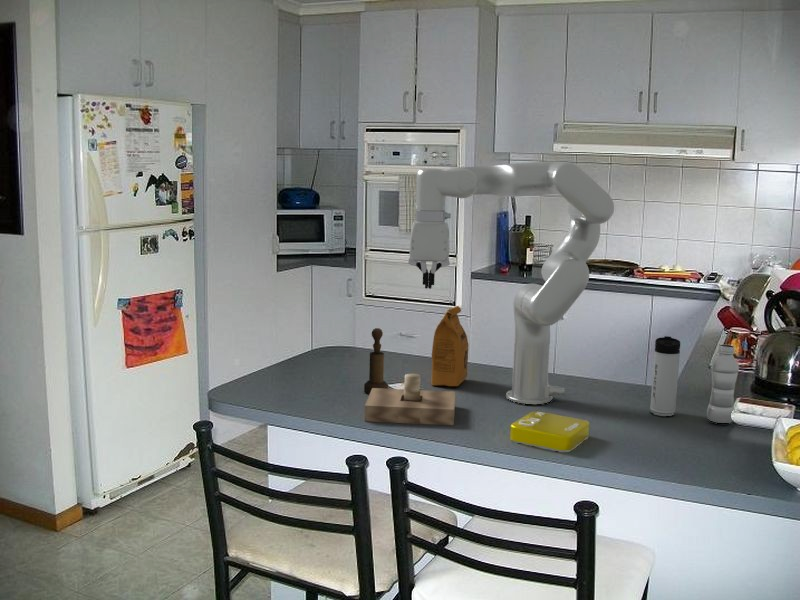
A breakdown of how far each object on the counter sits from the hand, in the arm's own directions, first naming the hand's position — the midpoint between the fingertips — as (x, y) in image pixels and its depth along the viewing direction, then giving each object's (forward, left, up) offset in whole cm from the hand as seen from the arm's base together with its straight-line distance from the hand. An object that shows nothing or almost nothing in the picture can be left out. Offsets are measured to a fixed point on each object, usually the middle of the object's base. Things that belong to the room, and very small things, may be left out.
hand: (428, 287), depth 227 cm
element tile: (-31, +25, -32) cm, 51 cm away
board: (+3, +10, -31) cm, 33 cm away
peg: (+3, +10, -31) cm, 33 cm away
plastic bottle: (-75, +6, -31) cm, 82 cm away
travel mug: (-62, 0, -31) cm, 69 cm away
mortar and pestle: (+14, -8, -31) cm, 35 cm away
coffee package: (-6, -21, -31) cm, 38 cm away
